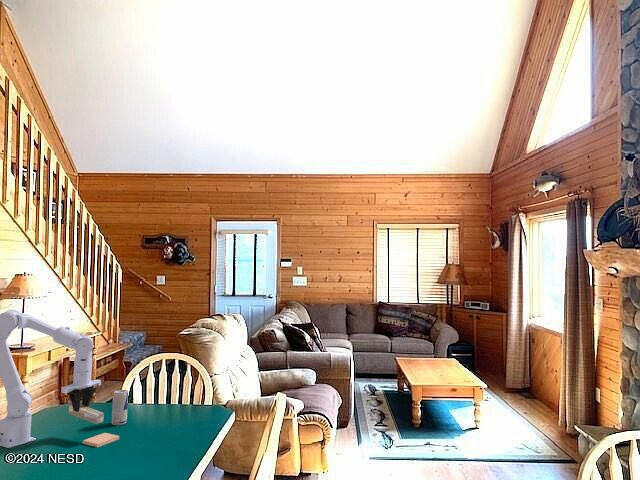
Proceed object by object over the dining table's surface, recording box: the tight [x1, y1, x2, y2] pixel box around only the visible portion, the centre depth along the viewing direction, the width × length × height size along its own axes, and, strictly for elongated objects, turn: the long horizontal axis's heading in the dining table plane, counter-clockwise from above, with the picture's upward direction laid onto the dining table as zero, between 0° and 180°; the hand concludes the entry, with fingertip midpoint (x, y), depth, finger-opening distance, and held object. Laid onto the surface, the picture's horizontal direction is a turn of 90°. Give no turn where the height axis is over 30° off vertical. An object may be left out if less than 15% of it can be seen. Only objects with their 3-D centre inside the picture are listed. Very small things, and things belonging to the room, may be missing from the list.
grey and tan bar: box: [67, 403, 105, 425], centre depth 173 cm, size 3×14×3 cm, turn 64°
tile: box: [82, 432, 120, 448], centre depth 169 cm, size 9×2×7 cm
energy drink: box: [111, 389, 129, 426], centre depth 189 cm, size 5×5×12 cm
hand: (80, 409), depth 174 cm, fingers closed on grey and tan bar, 3 cm apart
